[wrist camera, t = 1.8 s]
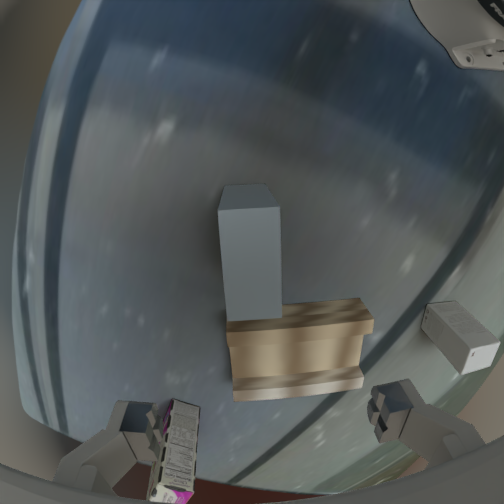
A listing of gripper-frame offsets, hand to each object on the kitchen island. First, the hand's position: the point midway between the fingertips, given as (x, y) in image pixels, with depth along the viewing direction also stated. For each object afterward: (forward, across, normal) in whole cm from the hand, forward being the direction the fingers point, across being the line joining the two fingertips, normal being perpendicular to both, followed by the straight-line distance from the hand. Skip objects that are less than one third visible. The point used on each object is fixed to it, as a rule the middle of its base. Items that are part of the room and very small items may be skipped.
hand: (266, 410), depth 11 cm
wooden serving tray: (+27, -6, +16) cm, 32 cm away
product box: (+27, 0, 0) cm, 27 cm away
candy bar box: (+27, +13, +32) cm, 44 cm away
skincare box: (+27, -28, +15) cm, 42 cm away
